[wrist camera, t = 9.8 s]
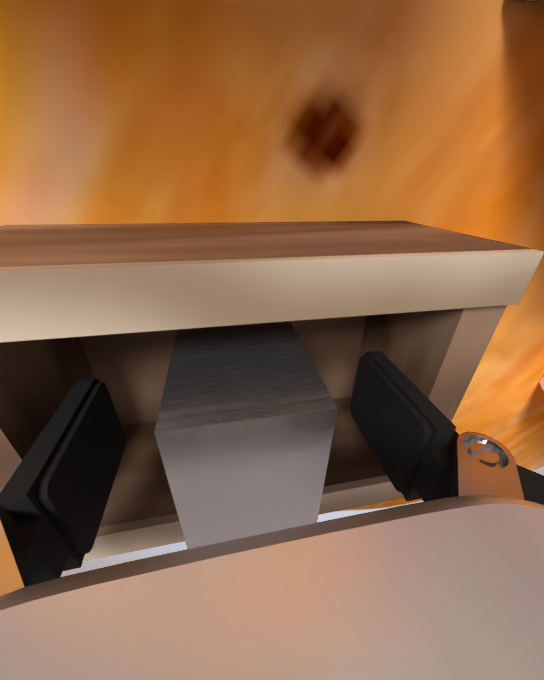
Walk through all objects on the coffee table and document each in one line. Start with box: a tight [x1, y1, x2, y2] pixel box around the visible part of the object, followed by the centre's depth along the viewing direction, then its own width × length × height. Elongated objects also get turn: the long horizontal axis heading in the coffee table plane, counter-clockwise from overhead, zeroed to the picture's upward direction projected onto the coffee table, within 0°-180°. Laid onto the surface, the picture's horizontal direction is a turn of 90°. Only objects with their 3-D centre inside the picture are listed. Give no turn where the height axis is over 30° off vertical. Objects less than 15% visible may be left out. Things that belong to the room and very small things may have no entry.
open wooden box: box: [0, 221, 544, 561], centre depth 11 cm, size 11×16×6 cm
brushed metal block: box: [154, 321, 338, 549], centre depth 10 cm, size 5×4×7 cm
